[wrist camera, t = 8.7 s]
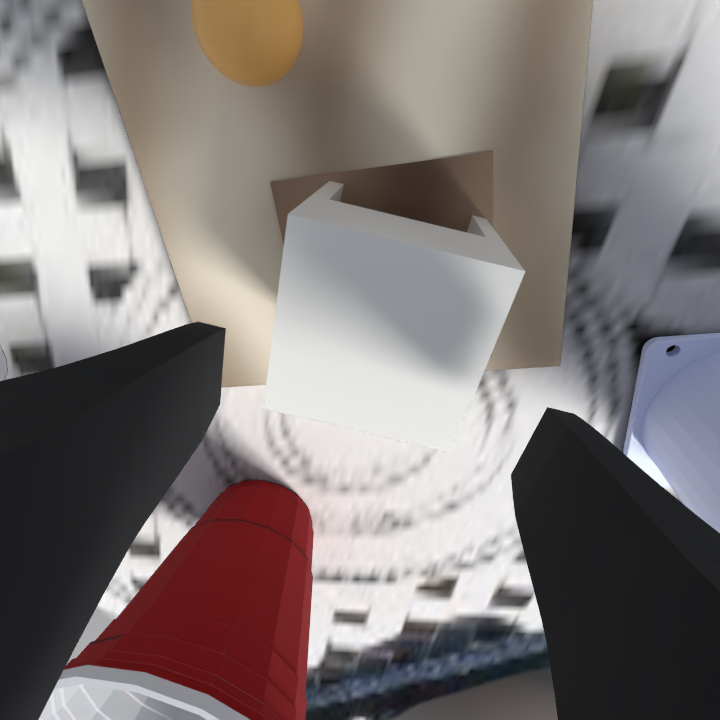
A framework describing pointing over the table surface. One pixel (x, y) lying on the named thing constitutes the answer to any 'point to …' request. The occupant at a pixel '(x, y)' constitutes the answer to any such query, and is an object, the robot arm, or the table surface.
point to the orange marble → (249, 37)
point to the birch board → (358, 145)
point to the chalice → (2, 366)
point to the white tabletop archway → (385, 319)
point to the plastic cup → (209, 623)
